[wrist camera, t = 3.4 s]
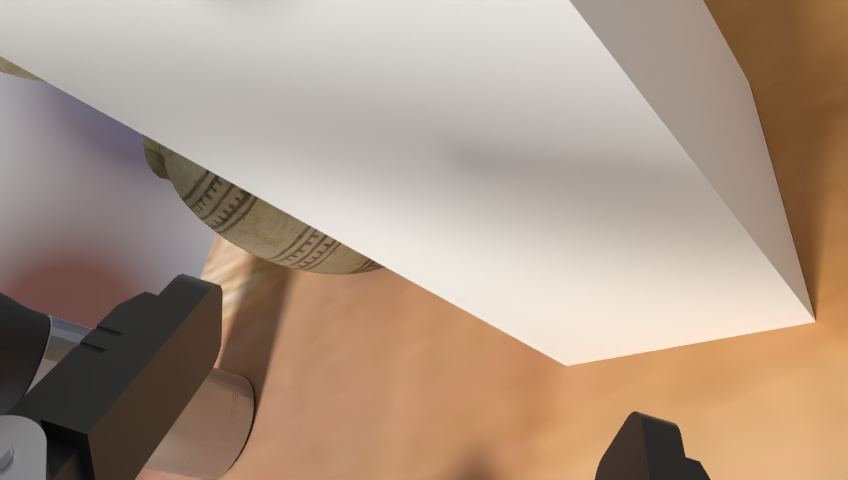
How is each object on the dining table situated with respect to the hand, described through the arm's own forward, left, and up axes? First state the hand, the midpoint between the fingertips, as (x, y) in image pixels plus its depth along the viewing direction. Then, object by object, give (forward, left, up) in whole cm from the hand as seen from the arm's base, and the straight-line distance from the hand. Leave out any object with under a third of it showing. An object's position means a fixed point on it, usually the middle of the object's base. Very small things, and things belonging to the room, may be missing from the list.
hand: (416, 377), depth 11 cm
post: (-2, +14, -20) cm, 25 cm away
